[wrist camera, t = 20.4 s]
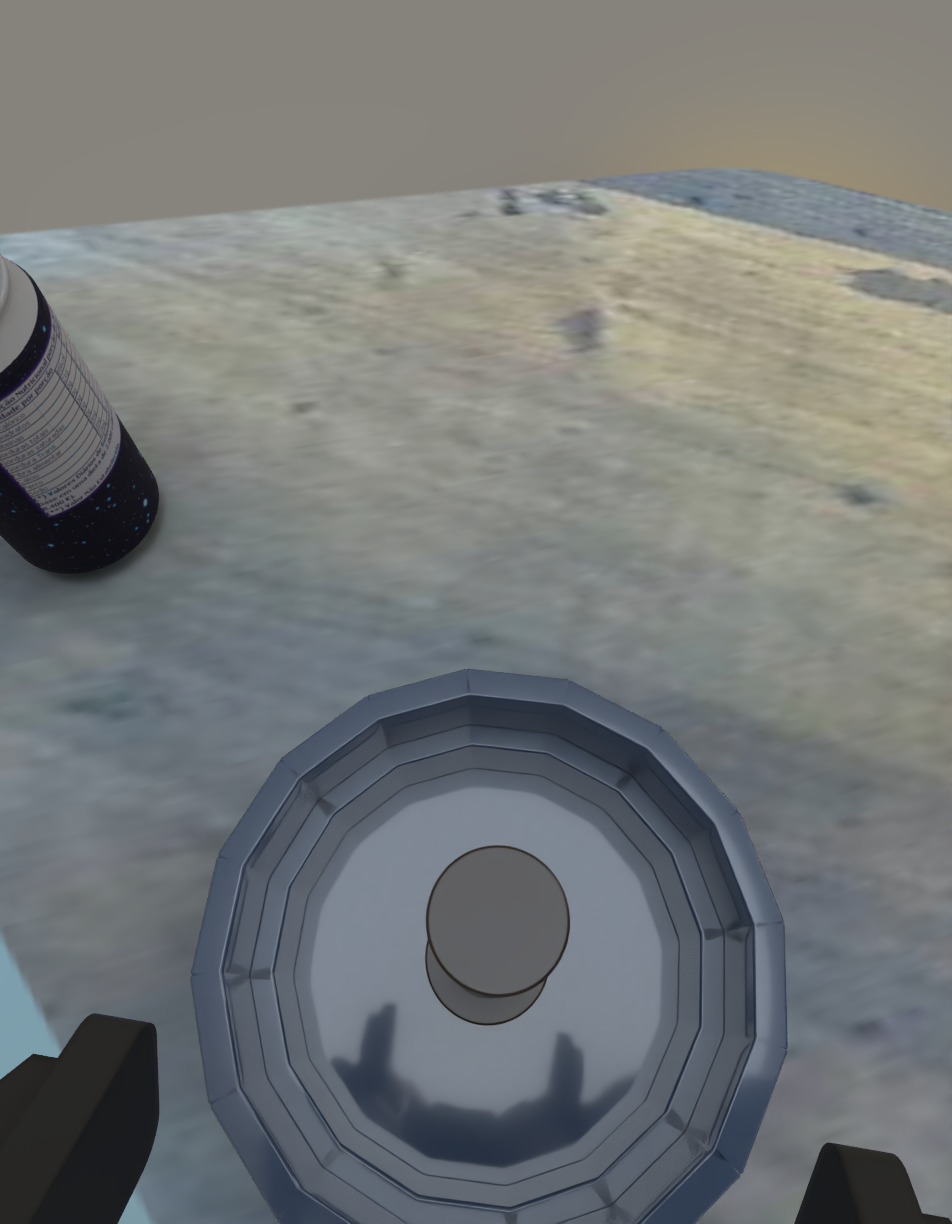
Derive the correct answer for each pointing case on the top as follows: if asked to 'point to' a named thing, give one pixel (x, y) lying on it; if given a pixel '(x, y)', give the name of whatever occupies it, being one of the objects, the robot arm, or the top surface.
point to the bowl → (535, 1041)
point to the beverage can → (62, 445)
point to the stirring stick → (494, 933)
